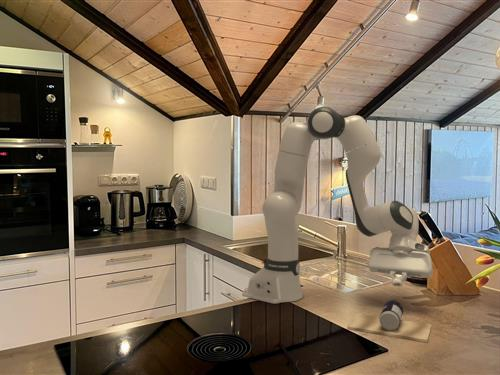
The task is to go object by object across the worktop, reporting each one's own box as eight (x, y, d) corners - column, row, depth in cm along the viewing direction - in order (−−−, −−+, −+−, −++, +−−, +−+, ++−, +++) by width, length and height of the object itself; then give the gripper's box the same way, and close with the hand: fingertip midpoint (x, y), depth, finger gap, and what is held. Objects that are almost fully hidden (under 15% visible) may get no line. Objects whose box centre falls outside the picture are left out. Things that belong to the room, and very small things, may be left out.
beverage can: (386, 296, 135) (381, 309, 124) (405, 303, 133) (401, 316, 122) (382, 313, 136) (376, 327, 125) (400, 320, 133) (396, 334, 123)
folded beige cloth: (347, 329, 128) (347, 326, 128) (357, 315, 138) (357, 313, 138) (427, 342, 117) (427, 339, 117) (431, 327, 128) (431, 324, 128)
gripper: (369, 241, 150) (363, 276, 142) (433, 246, 140) (430, 283, 132) (372, 251, 154) (366, 285, 146) (434, 257, 145) (431, 294, 137)
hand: (397, 285), depth 139 cm, fingers closed
